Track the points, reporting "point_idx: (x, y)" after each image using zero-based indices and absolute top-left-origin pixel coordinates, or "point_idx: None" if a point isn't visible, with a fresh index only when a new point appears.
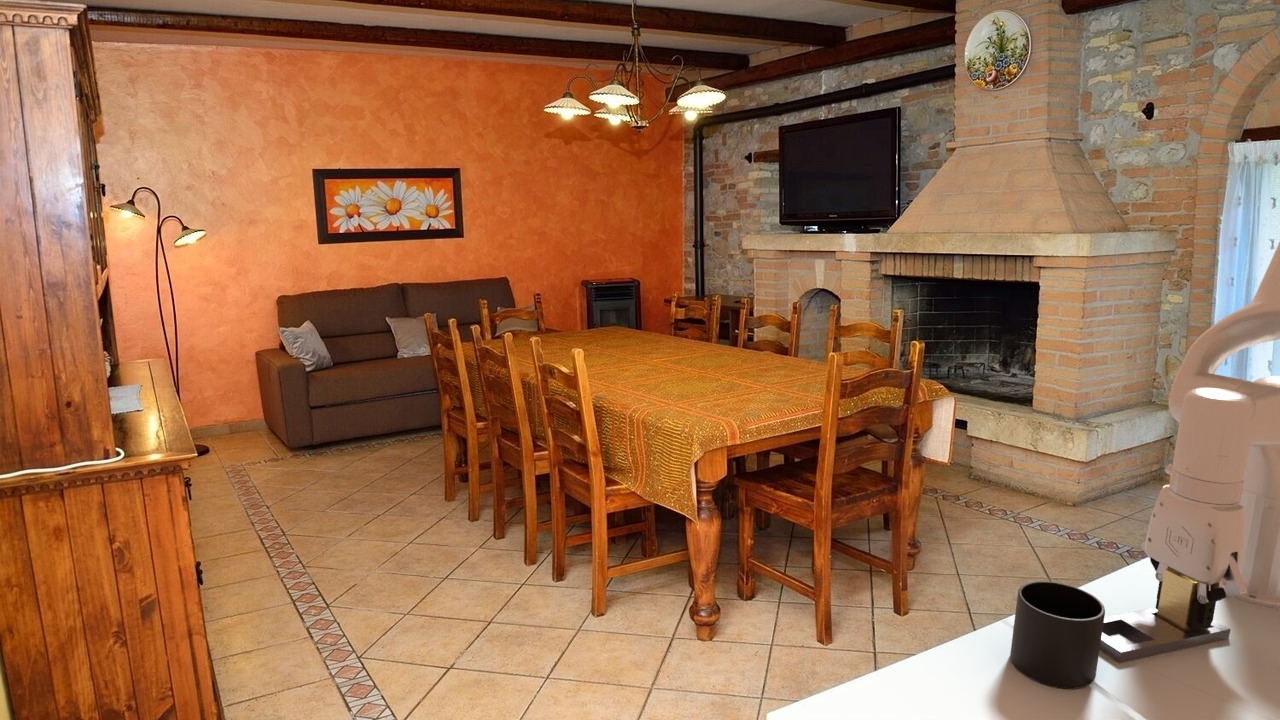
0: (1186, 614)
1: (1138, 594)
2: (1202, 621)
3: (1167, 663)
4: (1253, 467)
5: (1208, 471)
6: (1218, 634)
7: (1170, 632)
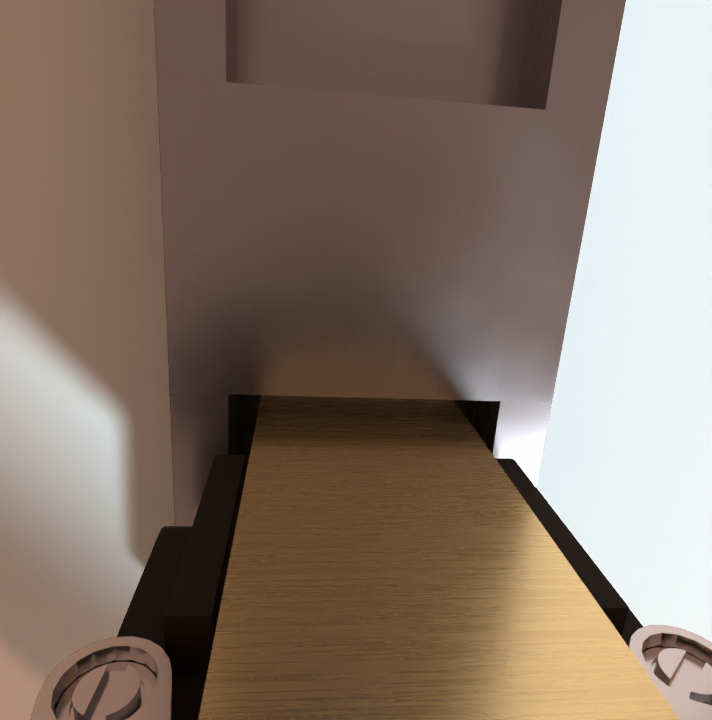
0: (250, 483)
1: (698, 594)
2: (164, 534)
3: (121, 91)
4: None
5: None
6: None
7: (266, 302)
